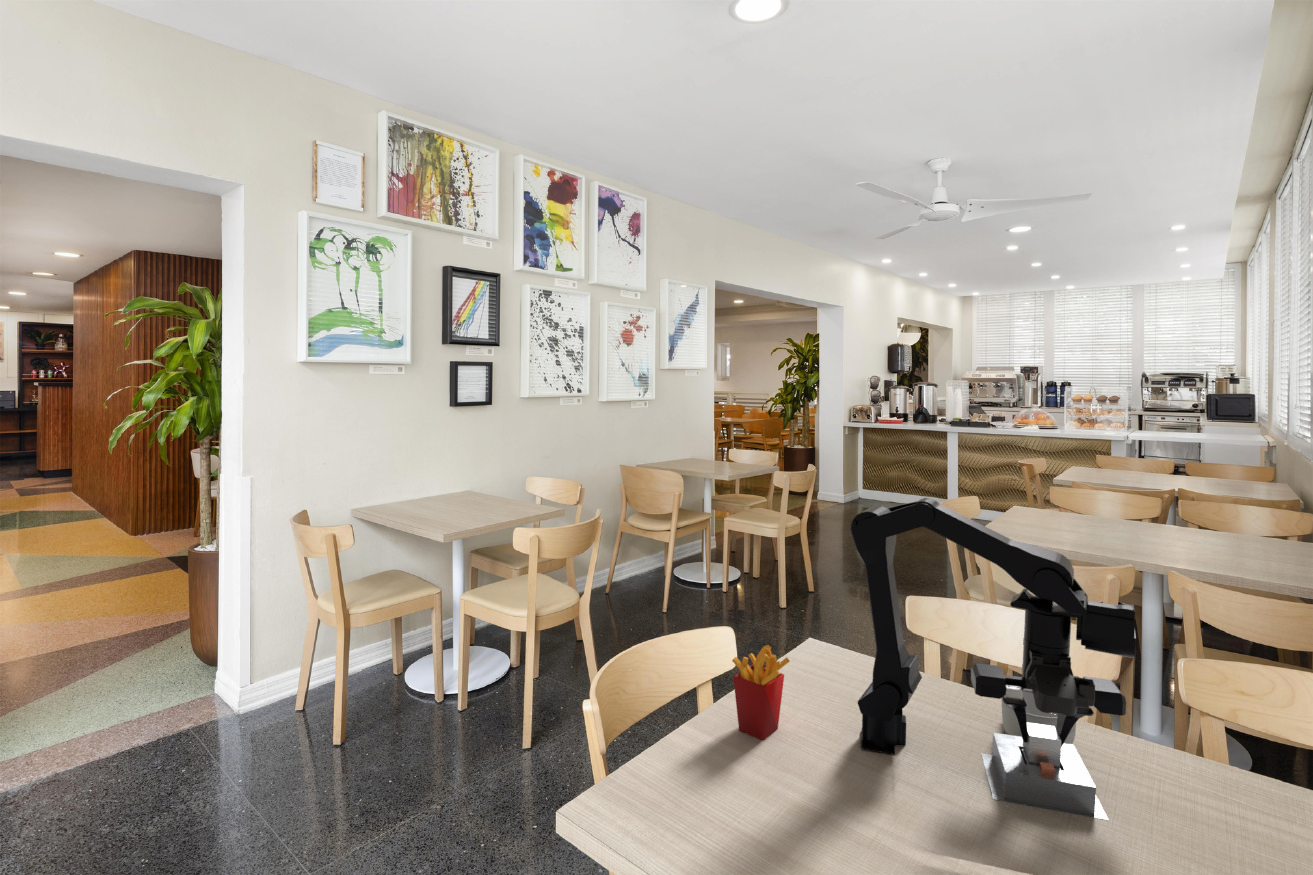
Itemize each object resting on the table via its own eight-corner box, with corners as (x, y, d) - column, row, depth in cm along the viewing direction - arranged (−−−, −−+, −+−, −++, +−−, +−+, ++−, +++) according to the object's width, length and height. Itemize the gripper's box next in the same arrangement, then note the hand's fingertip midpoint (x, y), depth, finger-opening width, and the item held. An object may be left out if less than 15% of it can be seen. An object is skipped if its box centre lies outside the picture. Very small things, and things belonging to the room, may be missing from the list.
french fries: (731, 730, 113) (731, 647, 112) (756, 712, 119) (757, 632, 118) (775, 749, 107) (776, 661, 106) (800, 728, 113) (801, 645, 112)
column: (1026, 781, 95) (1028, 735, 94) (1021, 765, 98) (1022, 721, 98) (1060, 787, 93) (1062, 740, 93) (1052, 770, 97) (1054, 725, 96)
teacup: (1086, 767, 102) (1089, 718, 101) (1011, 759, 104) (1013, 711, 103) (1051, 721, 115) (1053, 677, 114) (985, 715, 117) (987, 672, 117)
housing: (993, 805, 93) (994, 765, 92) (980, 759, 104) (982, 723, 103) (1108, 826, 88) (1110, 784, 88) (1082, 775, 99) (1084, 738, 99)
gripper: (983, 654, 89) (978, 762, 91) (1144, 673, 83) (1137, 789, 85) (972, 625, 100) (968, 722, 101) (1115, 640, 94) (1109, 743, 95)
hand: (1041, 743), depth 95 cm, fingers closed on column, 4 cm apart
